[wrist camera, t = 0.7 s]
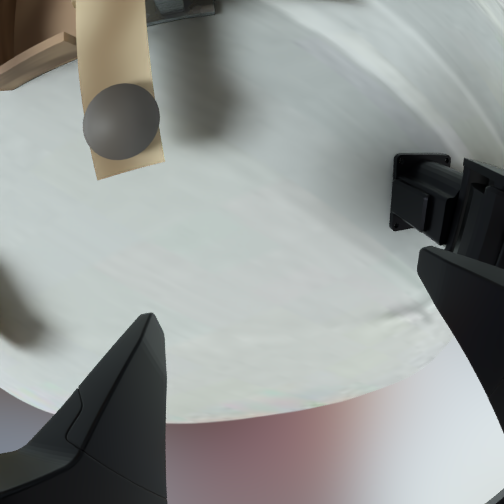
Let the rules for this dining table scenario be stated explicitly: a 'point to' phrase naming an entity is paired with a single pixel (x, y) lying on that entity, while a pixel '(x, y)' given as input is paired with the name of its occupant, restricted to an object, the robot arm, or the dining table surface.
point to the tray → (35, 39)
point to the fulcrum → (176, 10)
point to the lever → (117, 86)
